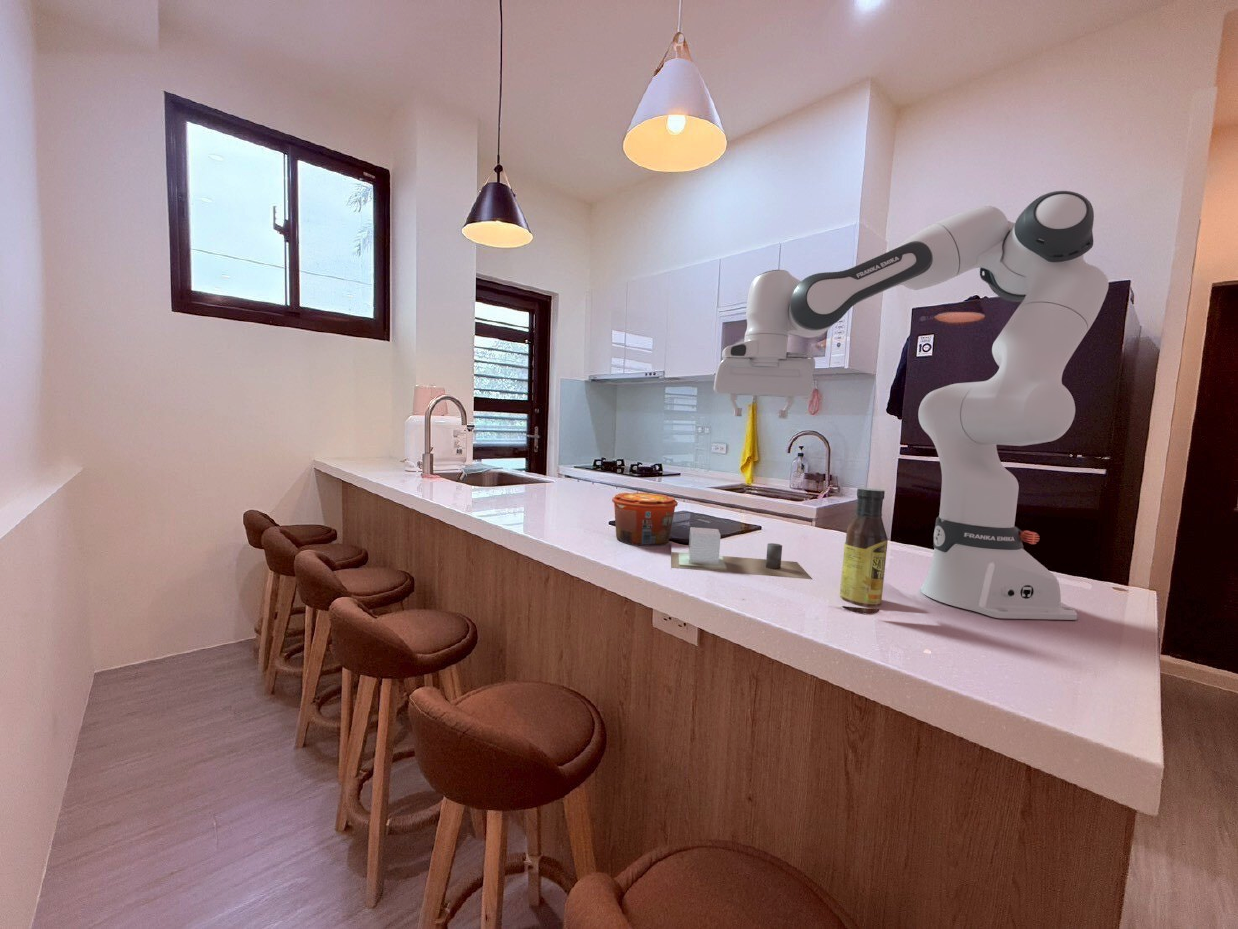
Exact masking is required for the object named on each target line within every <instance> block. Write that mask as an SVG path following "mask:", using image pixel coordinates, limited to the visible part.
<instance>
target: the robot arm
mask: <svg viewBox="0 0 1238 929" xmlns="http://www.w3.org/2000/svg"><path fill="white" fill-rule="evenodd" d="M1094 215H1095V214H1094V208H1093V205H1092V203H1091V201H1090V200H1089V199H1088V198H1087V197H1085V196H1084V195H1082V194H1081V193H1078V192H1074V191H1070V190H1057V191H1051V192H1047V193H1046V194H1043V195H1040V196H1039V197H1037V198H1035V199H1034V200H1033V201H1031V203H1029V204H1028V205H1027V207H1025V208H1024V210H1023V211H1022V212H1021V213H1020V214H1019V215H1018V217H1017V219H1016V220H1015V222H1011V221H1010V220H1009V219H1008V218H1007V216H1006V214H1005V213H1004V212H1003V211H1002V210H1000V209H999V208H998V207H996V206H991V205H982V206H979V207H976V208H972V209H969V210H964V211H962V212H960V213H959V212H958V213H956V214H954V215H951V216H948V217H946V218H944V219H941V220H939V221H937V222H935V223H933V224H931V225H929V226H927V227H925V228H923V229H921V230H919V231H917V232H916V233H914V234H912V235H911V236H909V237H908V238H906V239H905V240H904V241H902V242H900V243H899V244H898V245H897V246H895V247H893V248H892V249H891V250H889V251H887V252H884V253H882V254H880V255H878V256H876V257H872V258H870V260H867V261H864V262H862V263H860V264H857V265H855V266H852V267H850V268H848V269H845V270H840V271H839V270H838V271H829V272H817V273H814V274H811V275H809V276H807V277H805V278H804V279H802V280H800V279H798V278H796V277H795V276H793V275H792V274H791V273H790V272H789V271H788V270H787V269H786V270H783V269H773V270H768V271H765V272H763V273H760V274H759V275H757V276H755V278H753V279H752V282H751V283H750V286H749V289H748V293H747V294H748V295H747V302H746V310H745V311H746V312H745V318H746V325H747V326H746V330H745V332H744V339H743V342H739V343H735V344H732V345H731V344H730V345H728V346H726V347H725V348H724V349H723V350H722V352H721V358H722V360H721V361H720V362H719V364H718V366H717V368H716V371H715V376H714V383H713V391H714V392H715V394H716V395H729V401H730V403H731V406H732V408H733V417H740V418H741V417H742V415H743V413H742V412H743V408H742V407H738V404H737V402H736V400H738V396H752V397H753V396H754V397H755V396H756V397H757V396H758V397H761V396H762V397H775V398H776V397H779V398H780V397H781V398H785V399H784V401H785V403H787V404H786V405H785V407H784V408H783V409H779V410H778V419H782V420H785V419H788V414H789V411H790V409H791V407H792V406H793V405H794V403H795V398H800V399H801V398H802V399H805V398H810V396H812V395H813V393H814V375H813V374H814V372H815V370H816V360H815V358H814V356H812V355H811V354H809V353H807V352H801V353H800V352H799V353H798V352H792V351H791V352H790V351H789V352H788V343H789V335H792V336H797V337H802V338H806V339H807V338H817V337H820V336H822V335H823V334H825V333H827V331H828V330H830V329H831V328H832V327H833V325H835V324H836V323H837V322H839V321H840V320H841V319H842V318H843V317H844V316H845V315H846V313H848V311H849V310H850V309H851V308H852V307H854V306H855V305H856V304H858V303H860V302H863V301H865V300H867V299H869V298H872V297H874V296H876V295H879V294H881V293H883V292H885V291H887V290H890V289H892V288H895V287H899V286H904V287H905V288H907V289H909V290H914V291H918V290H922V289H923V290H924V289H926V288H929V287H934V286H936V285H939V284H943V283H945V282H947V281H949V280H951V279H953V278H955V277H958V276H960V275H962V274H965V273H967V272H968V271H972V270H974V269H978V268H979V277H980V278H981V280H982V281H983V282H985V283H986V284H988V287H989V288H990V290H992V292H993V293H994V294H995V295H996V296H998V297H999V298H1001V299H1003V300H1005V301H1009V302H1015V303H1020V304H1019V305H1018V307H1017V308H1016V310H1015V311H1014V312H1013V313H1012V316H1010V318H1009V320H1008V321H1007V323H1006V324H1005V326H1004V327H1003V328H1002V330H1001V331H1000V333H999V334H998V335H997V337H996V339H995V340H994V341H993V344H992V347H991V355H992V357H993V359H994V361H995V363H996V364H997V366H998V367H999V368H998V370H997V372H996V373H995V374H994V375H992V377H990V378H989V379H987V380H984V381H983V380H982V381H971V382H969V381H968V382H958V383H953V384H949V385H945V386H943V387H940V388H937V389H934V390H932V391H930V392H929V393H927V394H926V395H925V396H924V398H923V399H922V400H921V402H920V405H919V407H918V414H917V416H918V418H917V419H918V422H919V425H920V427H921V429H922V430H923V431H924V432H925V433H926V435H928V436H929V438H930V439H931V441H932V443H933V444H934V448H935V450H936V452H937V456H938V459H939V463H940V464H939V465H940V470H941V471H940V472H941V491H940V505H939V512H938V513H939V515H938V516H937V517H936V519H935V526H934V532H933V548H934V549H933V554H932V559H931V562H930V565H929V569H928V572H927V574H926V577H925V580H924V582H923V585H922V586H921V589H920V592H921V593H922V594H924V595H925V596H927V597H929V598H931V599H933V600H935V601H936V602H940V603H943V604H946V605H950V606H952V607H956V608H960V609H963V610H968V611H973V612H976V613H979V614H982V615H985V616H988V617H992V618H996V619H1009V620H1011V619H1013V620H1014V619H1015V620H1018V619H1019V620H1020V619H1021V620H1024V619H1025V620H1060V621H1061V620H1067V621H1069V620H1070V621H1071V620H1072V621H1073V620H1075V621H1076V620H1078V613H1077V612H1076V609H1073V608H1072V607H1071V606H1068V605H1067V604H1065V603H1063V602H1061V600H1062V598H1061V597H1062V595H1061V586H1060V582H1059V580H1058V579H1057V576H1056V575H1055V574H1054V573H1053V572H1051V571H1050V570H1048V568H1047V567H1045V565H1043V564H1041V562H1039V561H1038V560H1037V559H1036V558H1034V556H1032V555H1031V554H1030V553H1029V552H1027V551H1026V550H1025V549H1024V545H1023V542H1025V543H1027V544H1030V545H1036V544H1037V543H1038V542H1039V541H1040V535H1039V534H1038V533H1037V532H1035V531H1030V530H1022V529H1020V528H1019V527H1018V526H1015V522H1016V514H1017V505H1018V498H1019V488H1020V487H1019V482H1018V479H1017V477H1015V475H1014V474H1013V473H1012V472H1010V471H1009V470H1007V469H1006V467H1004V465H1003V463H1002V462H1001V460H1000V457H999V453H998V448H997V445H1000V446H1013V447H1014V446H1016V447H1017V446H1018V447H1024V446H1029V445H1030V446H1031V445H1038V444H1043V443H1048V442H1053V441H1056V440H1058V439H1060V438H1061V437H1063V435H1065V434H1066V432H1067V431H1068V430H1069V428H1071V426H1072V423H1073V421H1074V420H1075V415H1076V405H1075V400H1074V397H1073V396H1072V394H1071V392H1070V391H1069V389H1068V388H1067V387H1066V386H1065V385H1064V384H1063V382H1062V379H1063V373H1064V370H1065V369H1066V366H1067V364H1068V363H1069V361H1070V359H1071V358H1072V356H1073V355H1074V353H1075V351H1076V350H1077V348H1078V346H1079V345H1080V344H1081V342H1082V341H1083V339H1084V337H1085V336H1086V334H1087V333H1088V331H1089V330H1090V329H1091V327H1092V326H1093V323H1094V322H1095V321H1096V318H1097V317H1098V315H1099V313H1100V311H1101V308H1102V306H1103V303H1104V301H1105V300H1106V296H1107V293H1108V291H1109V286H1110V285H1109V278H1108V277H1107V275H1106V274H1105V272H1104V271H1103V270H1101V269H1100V268H1098V267H1096V266H1095V265H1093V264H1090V263H1088V262H1086V260H1085V259H1084V255H1085V254H1086V253H1087V252H1089V251H1090V250H1091V249H1092V248H1093V247H1094V234H1093V233H1094V232H1093V227H1094V220H1095V219H1094V218H1095V216H1094ZM983 272H984V275H983Z"/></svg>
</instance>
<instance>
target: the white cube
mask: <svg viewBox="0 0 1238 929" xmlns="http://www.w3.org/2000/svg"><path fill="white" fill-rule="evenodd" d="M689 528H690V529H689V537H688V540H689V542H688V557H689V563H693V564H706V565H718V564H719V556H720V551H721V550H720V548H721V546H720V545H721V533H720V530H719V529H718V528H708V527H693V526H691V527H689Z"/></svg>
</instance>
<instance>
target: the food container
mask: <svg viewBox="0 0 1238 929" xmlns="http://www.w3.org/2000/svg"><path fill="white" fill-rule="evenodd" d="M611 501H612V502H613V506H614V522H615V523H614V524H615V537H616V539H617V540H618V541H620V542H621V543H624V544H629V545H632V546H638V547H639V546H641V547H654V546H655V547H657V546H662V545H663V546H664V545H666V544H667V543H669V540H670V534H671V531H672V524H673V519H674V515H675V510H676V507H677V506H678V505H679V504H678V501H676V499H675V498H674V496H672V497H671V496H670V497H669V496H668V495H667V494H666V495H665V494H658V493H655V494H653V493H650V492H649V493H648V492H634V493H633V492H632V493H629V492H621V493H618V494H615V495H614V497H612V499H611ZM612 502H611V503H612Z"/></svg>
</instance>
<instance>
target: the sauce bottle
mask: <svg viewBox="0 0 1238 929" xmlns="http://www.w3.org/2000/svg"><path fill="white" fill-rule="evenodd" d="M885 492H886V491H885V490H883V489H878V488H867V487H857V489H856V496H857V497H856V498H857V502H856V503H857V504H856V509H855V516H854V518H853V519H852V520H851V521H850V522H849V523H848V525H847V529H846V531H845V532H846V533H845V534H846V536H845V542H844V548H843V558H842V567H841V579H840V589H839V590H840V591H839V595H840V598H841V599H842V600H843V601H845V602H847V603H849V604H852V605H856V606H861V607H856V606H846V605H842V606H841V607H842V608H843V609H845V610H847V611H851V612H854V613H859V614H868V615H869V614H870V615H871V614H872V615H873V614H877V613H878V612H880V608H874V607H878V606H880V605H881V604H882V601H883V599H882V598H883V590H884V581H885V570H886V561H887V552H888V540H889V539H888V535H887V532H886V529H885V525H884V521H883V518H882V517H883V502H884V501H883V500H884V499H885ZM866 607H867V608H866ZM872 607H873V608H872Z"/></svg>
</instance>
